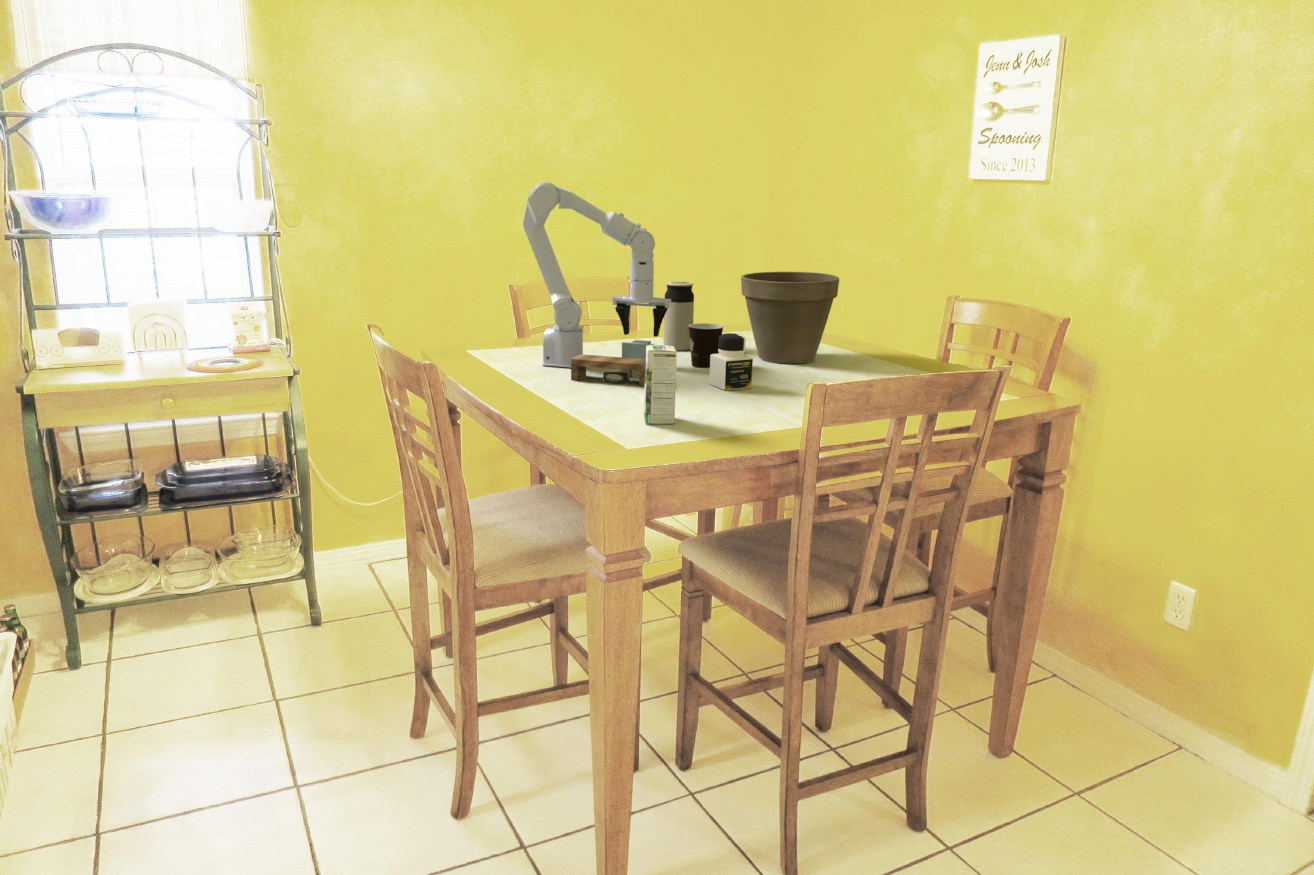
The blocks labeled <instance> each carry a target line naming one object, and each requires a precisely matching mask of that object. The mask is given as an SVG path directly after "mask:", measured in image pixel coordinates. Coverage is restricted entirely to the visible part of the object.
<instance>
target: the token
mask: <svg viewBox="0 0 1314 875" xmlns="http://www.w3.org/2000/svg"><path fill="white" fill-rule="evenodd" d="M602 374H603V375H602V376H603V383H605V384H610V385H623V384H624V385H625V384H628V383H629V382H630V378H629V371H627V370H623V369H610V368H608V369H606V370H605V369H604V371H603V373H602Z"/></svg>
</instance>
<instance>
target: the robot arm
mask: <svg viewBox="0 0 1314 875" xmlns="http://www.w3.org/2000/svg"><path fill="white" fill-rule="evenodd" d="M557 206H558V209H564V210H566V209H568V210H573V211H575V212H576V213H578V214H579V215H582V216H584V217H585V218H588V219H589V220H591V221H593V223H594V222H595V223H596V224H599V225H600V227H601V232H602V233H603V234H604V235H606V236H608V237H609V238H612V239H613V240H615V241H616V242H618V243H620V244H621V245H623V246H630V248H631V260H630V261H629V263H630V264H629V266H630V267H629V269H630V272H629V276H630V277H629V281H630V282H629V296H627V295H624V296H623V295H622V296H620V295H614V296H612V299H611V300H612V302H611V304H612V305H615V306H616V307H615V308H614V309H615V311H616V314H617V315H618V317H619V320H620V323H621V326H622V329H623V330H622V331H623V335H625V336H628V335H629V334H630V314H631V306H634V307H635V306H637V307H638V306H639V307H651V308H652V314H653V315H652V316H653V333H652V334H653V337H654V338H656V337H658V336H659V334H660V329H661V325H662V323H663V321H664V316H665V314H666V312H667V309H668V308H669V307H671V299H665V297H664V298H662V297H654V275H655V274H654V273H655V272H654V271H655V265H654V264H655V261H654V249H655V247H656V241H655V238H654V236H653V234H652V233H651V232H650V231H649V230H647V229H646V228H644V227H643V228H642V225H641V224H640V223H637V224H636V223H635V222H634V221H631V220H630V219H628V218H626V217H624V216H625V214H624V213H622V212H621V211H619V212H616V211H612V212H608V213H606V212H605V211H604V210H602V209H600V208H599V207H597V206H596V205H594V204H592V203H590V202H589V201H587V200H586V199H584V198H582V197H581V196H579V195H578V194H576V193H575V192H573V191H570V190H568V189H566V188H563V187H561V186H557V185H555V184H554V183H552V182H548V181H544V182H540V183H538V184H537V185H535V186H534V187H533V189H531V192H530V193H529V195H528V197H527V200H526V206H525V211H524V216H523V221H522V225H523V226H522V227H523V230H524V232H525V235H526V237H527V239H528V240H527V241H528V242H529V245H530V247H531V250H532V252H533V255H534V258H535V260H536V263H537V265H538V267H539V270H540V273H541V275H542V278H543V280H544V283H545V285H546V288H547V290H548V293H549V296H550V299H551V303H552V306H553V309H554V317H553V319H554V323H555V325H553V327H551V328H549V327H548V328H546V329H545V331H544V333H543V336H542V337H543V338H542V354H543V355H542V359H543V360H542V361H543V362H542V364H541V365H542V366H547V367H559V368H570V369H571V359H572V358H574V357H576V356H578V355H580V354H584V347H583V345H584V340H583V339H584V338H583V337H584V332H583V331H584V327H583V326H581V324H580V322H581V316H582V309H581V306H580V304H579V303H578V302H577V301H575V299H574V298H573V296H572V293H571V291H570V290H569V287H568V285H567V281H566V279H565V278H564V274H563V272H562V269H561V267H560V264H559V261H558V259H557V256H556V254H555V251H554V249H553V247H552V243H551V240H550V238H549V235H548V234H547V231H546V228H545V224H546V223H547V222H546V221H547V220H548V217H549V216H550V214H551V212H552V211H553V210H554V209H555V207H557ZM653 307H654V308H653Z"/></svg>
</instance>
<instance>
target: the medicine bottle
mask: <svg viewBox="0 0 1314 875" xmlns="http://www.w3.org/2000/svg"><path fill="white" fill-rule="evenodd" d="M718 352H719V354H711V355H710V368H709V382H708V383H709V385H710V386H712V387H715V388H718V389H720V390H722V391H726V392H727V391H728V392H729V391H736V390H737V391H738V390H746V389H751V388H752V381H753V365H754V364H753V363H754V358H753V357H752V356H749V355H747V354H745V353H746V336H745V335H743V334H741V333H735V332H732V333H731V332H727V333H722V335H720V336H719V345H718Z"/></svg>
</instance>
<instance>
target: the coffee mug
mask: <svg viewBox="0 0 1314 875" xmlns="http://www.w3.org/2000/svg"><path fill="white" fill-rule="evenodd" d="M723 330H724V325H722V324H717V323H709V322H708V323H704V322H703V323H702V322H700V323H693V324H690V325H689V337H690V358H691V366H692V367H693V368H698V369H710V355H711V354H719V352H718V345H719V336H720V335H722V334H723Z"/></svg>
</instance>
